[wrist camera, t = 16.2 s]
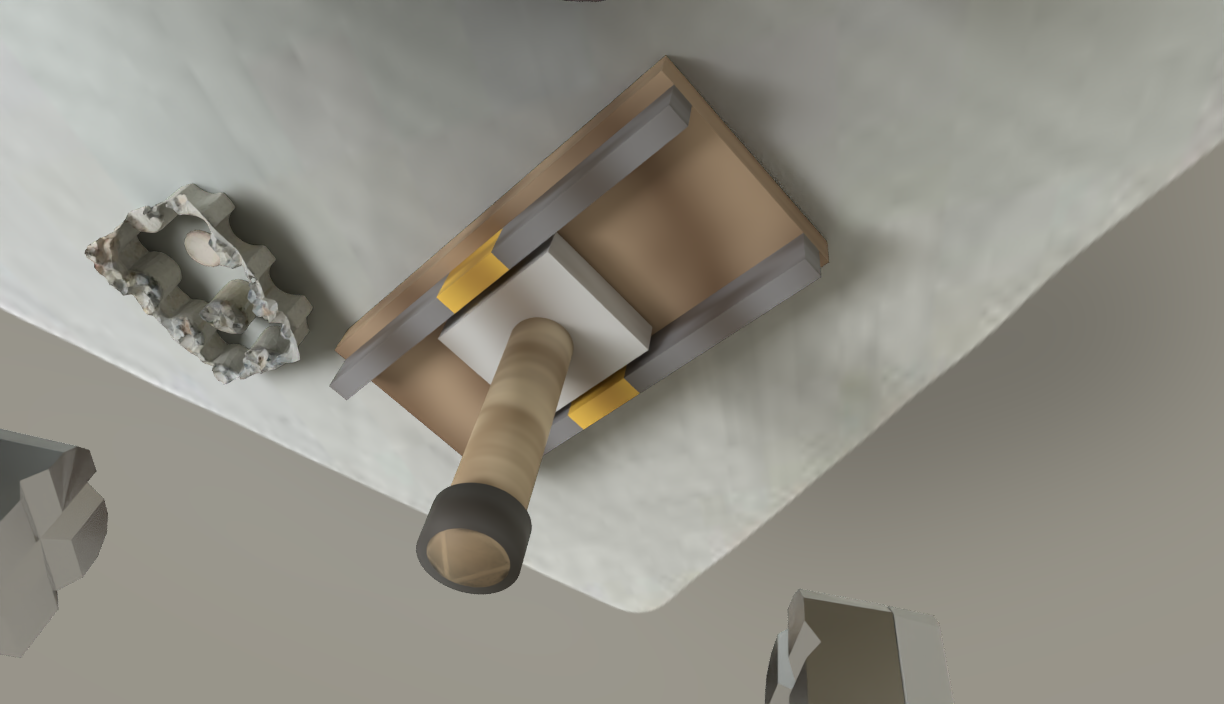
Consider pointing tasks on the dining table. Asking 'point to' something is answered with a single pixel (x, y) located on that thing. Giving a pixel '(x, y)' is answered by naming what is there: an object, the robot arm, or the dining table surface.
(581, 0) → the perforated stone tool
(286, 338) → the egg carton
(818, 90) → the dining table surface
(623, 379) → the press base
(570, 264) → the press handle
